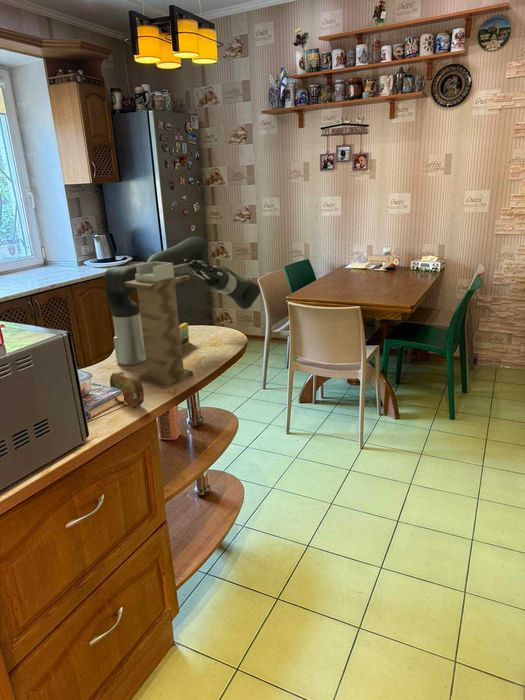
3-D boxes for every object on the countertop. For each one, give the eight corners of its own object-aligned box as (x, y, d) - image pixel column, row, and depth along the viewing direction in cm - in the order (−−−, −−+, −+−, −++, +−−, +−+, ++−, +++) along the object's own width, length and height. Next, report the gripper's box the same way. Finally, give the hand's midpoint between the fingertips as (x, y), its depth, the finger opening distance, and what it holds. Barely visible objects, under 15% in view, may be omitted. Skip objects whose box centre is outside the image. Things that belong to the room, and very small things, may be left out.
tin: (111, 396, 146) (106, 370, 143) (120, 393, 148) (116, 367, 146) (137, 411, 136) (133, 383, 133) (147, 407, 138) (144, 380, 135)
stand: (163, 389, 149) (150, 285, 138) (137, 381, 156) (123, 282, 145) (199, 372, 161) (190, 275, 150) (173, 365, 168) (163, 272, 157)
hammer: (154, 283, 142) (152, 267, 140) (135, 280, 146) (133, 265, 145) (210, 269, 160) (208, 255, 158) (192, 267, 164) (190, 253, 163)
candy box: (169, 357, 177) (167, 335, 174) (164, 357, 177) (161, 335, 174) (190, 343, 191) (188, 322, 188) (185, 342, 192) (183, 322, 189)
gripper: (233, 292, 167) (201, 275, 153) (203, 289, 175) (169, 272, 161) (239, 271, 167) (207, 252, 153) (208, 268, 175) (176, 250, 161)
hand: (188, 262), depth 157 cm, fingers open, 3 cm apart
